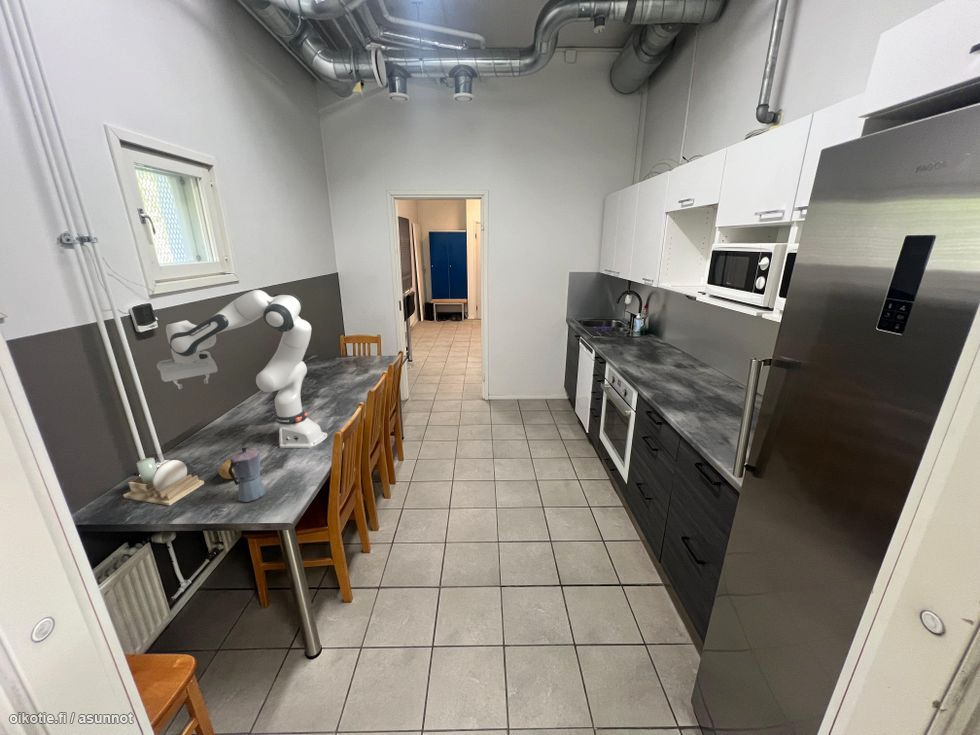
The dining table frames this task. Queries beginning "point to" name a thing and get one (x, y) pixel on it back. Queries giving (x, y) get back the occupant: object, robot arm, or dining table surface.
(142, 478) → the pale green glossy part
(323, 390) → the dining table surface
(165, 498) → the rack
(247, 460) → the moka pot
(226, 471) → the potato
